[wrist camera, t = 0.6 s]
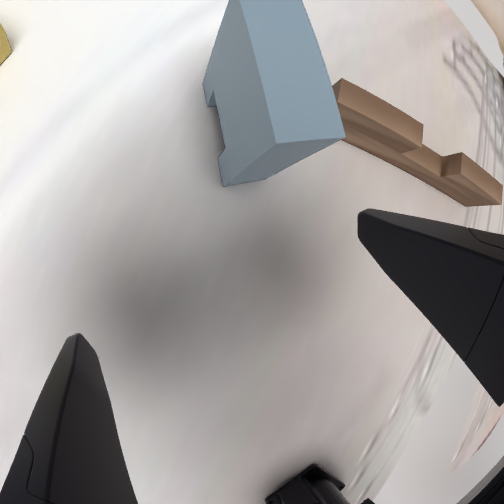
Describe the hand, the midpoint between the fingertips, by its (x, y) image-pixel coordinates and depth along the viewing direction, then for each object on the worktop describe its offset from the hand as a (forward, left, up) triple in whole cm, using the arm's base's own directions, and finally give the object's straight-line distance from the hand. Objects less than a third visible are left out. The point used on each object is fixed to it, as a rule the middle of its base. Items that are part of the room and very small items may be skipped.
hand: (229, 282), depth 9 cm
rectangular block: (+5, -8, -13) cm, 16 cm away
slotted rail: (-6, -19, -13) cm, 24 cm away
